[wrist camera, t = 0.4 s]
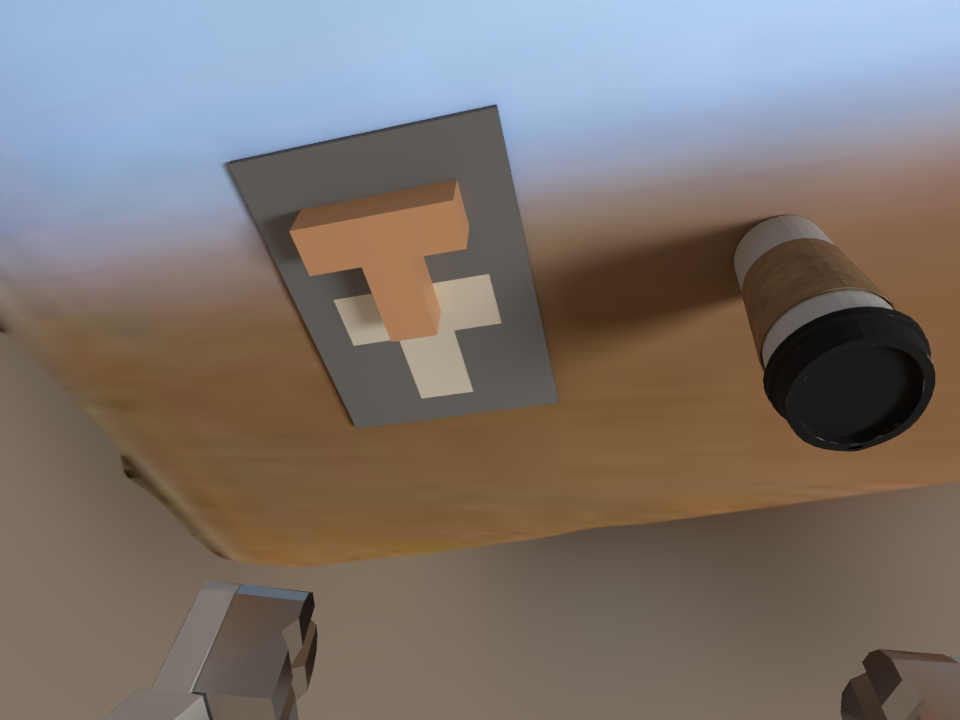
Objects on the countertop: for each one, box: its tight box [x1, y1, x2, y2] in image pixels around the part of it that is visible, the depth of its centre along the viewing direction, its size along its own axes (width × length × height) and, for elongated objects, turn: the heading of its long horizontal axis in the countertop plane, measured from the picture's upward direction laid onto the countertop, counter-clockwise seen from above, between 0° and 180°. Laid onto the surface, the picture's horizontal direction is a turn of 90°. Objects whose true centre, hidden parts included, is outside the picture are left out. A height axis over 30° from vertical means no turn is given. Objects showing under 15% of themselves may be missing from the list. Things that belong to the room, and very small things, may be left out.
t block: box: [289, 179, 469, 342], centre depth 46 cm, size 10×11×3 cm
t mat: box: [228, 105, 558, 429], centre depth 50 cm, size 25×18×1 cm
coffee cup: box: [734, 215, 935, 451], centre depth 41 cm, size 8×8×15 cm
